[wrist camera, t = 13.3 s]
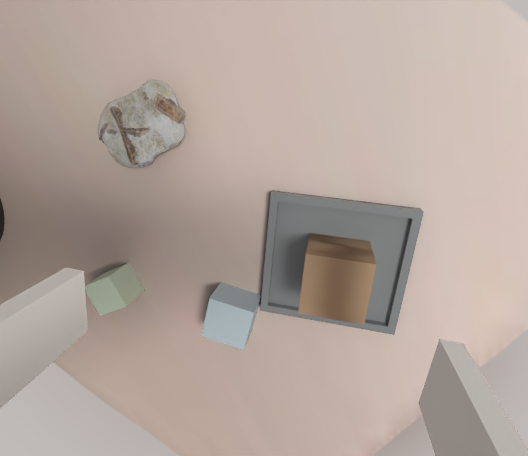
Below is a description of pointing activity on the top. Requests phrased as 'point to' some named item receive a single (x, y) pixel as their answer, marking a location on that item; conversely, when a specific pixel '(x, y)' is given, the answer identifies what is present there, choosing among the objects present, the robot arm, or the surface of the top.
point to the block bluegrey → (230, 315)
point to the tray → (347, 226)
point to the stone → (142, 124)
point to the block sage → (114, 289)
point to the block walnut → (337, 278)
